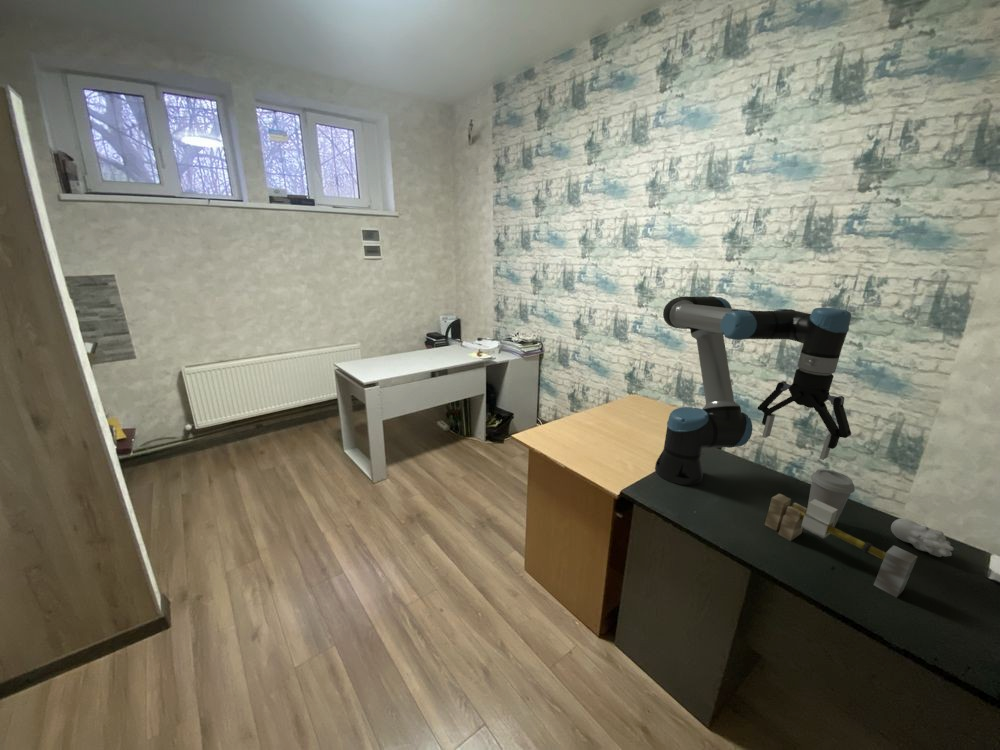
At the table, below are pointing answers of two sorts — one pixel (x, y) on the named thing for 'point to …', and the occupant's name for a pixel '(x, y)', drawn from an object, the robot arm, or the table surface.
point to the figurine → (922, 537)
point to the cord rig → (894, 560)
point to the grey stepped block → (819, 518)
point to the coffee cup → (831, 489)
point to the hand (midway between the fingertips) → (793, 446)
